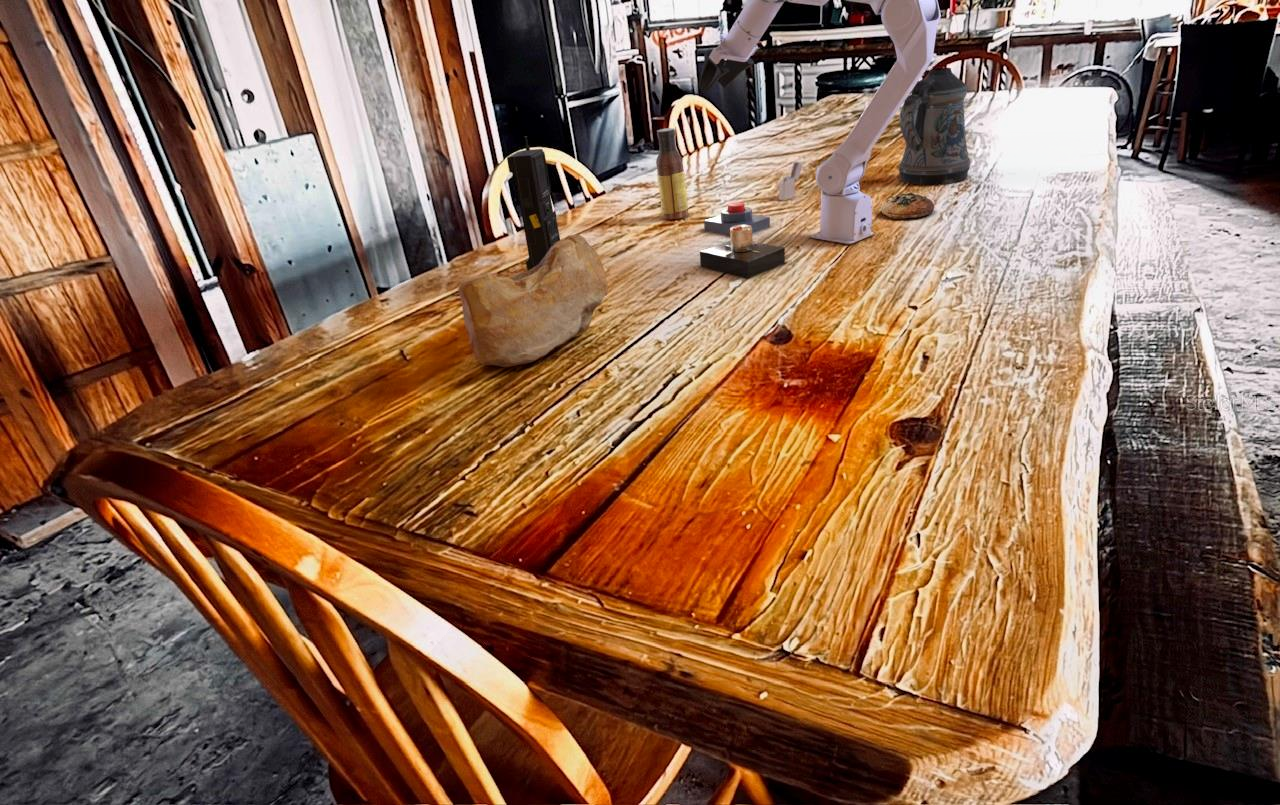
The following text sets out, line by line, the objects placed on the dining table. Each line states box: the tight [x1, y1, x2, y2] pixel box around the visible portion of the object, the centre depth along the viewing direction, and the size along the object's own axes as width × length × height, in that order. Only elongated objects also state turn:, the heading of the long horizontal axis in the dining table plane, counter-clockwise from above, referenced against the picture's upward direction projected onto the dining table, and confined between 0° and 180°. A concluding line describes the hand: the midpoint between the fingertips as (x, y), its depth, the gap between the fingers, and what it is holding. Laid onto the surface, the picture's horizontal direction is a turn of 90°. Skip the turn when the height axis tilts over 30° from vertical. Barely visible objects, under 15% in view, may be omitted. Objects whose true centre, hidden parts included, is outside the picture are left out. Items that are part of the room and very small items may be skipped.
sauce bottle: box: [655, 127, 689, 221], centre depth 163 cm, size 7×6×20 cm
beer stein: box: [898, 67, 971, 186], centre depth 170 cm, size 16×19×25 cm
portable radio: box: [506, 135, 561, 271], centre depth 134 cm, size 8×6×25 cm
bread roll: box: [880, 192, 935, 221], centre depth 150 cm, size 11×11×5 cm
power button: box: [727, 201, 746, 213], centre depth 151 cm, size 4×4×2 cm
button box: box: [703, 206, 771, 236], centre depth 152 cm, size 11×9×4 cm
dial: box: [729, 225, 754, 252], centre depth 129 cm, size 4×4×4 cm
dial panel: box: [699, 240, 786, 279], centre depth 130 cm, size 12×10×3 cm
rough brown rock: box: [457, 234, 609, 368], centre depth 105 cm, size 23×17×15 cm
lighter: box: [778, 161, 803, 202], centre depth 172 cm, size 7×2×8 cm, turn 130°
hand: (711, 87), depth 144 cm, fingers open, 7 cm apart
